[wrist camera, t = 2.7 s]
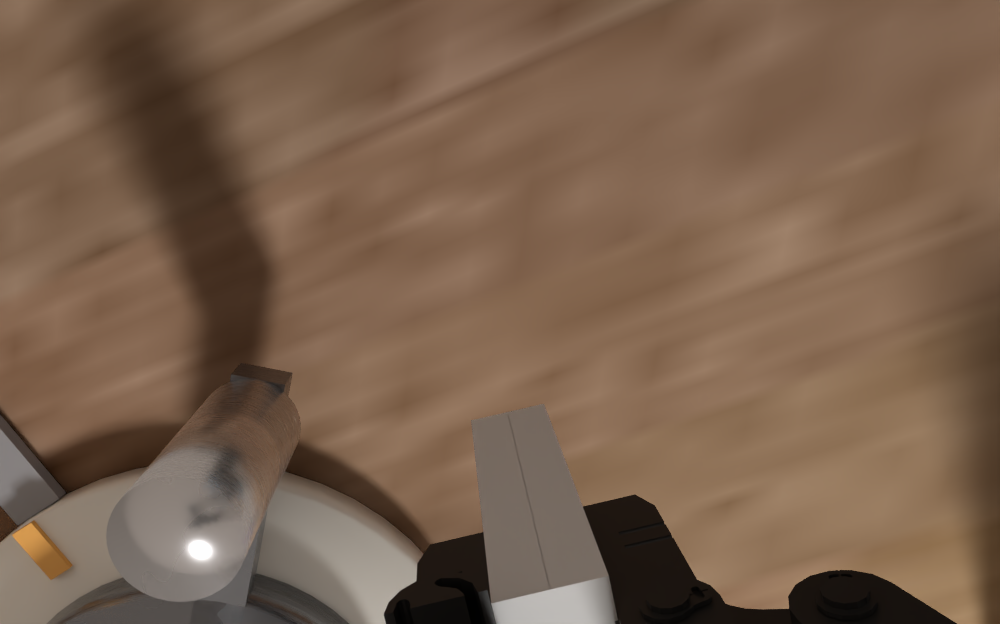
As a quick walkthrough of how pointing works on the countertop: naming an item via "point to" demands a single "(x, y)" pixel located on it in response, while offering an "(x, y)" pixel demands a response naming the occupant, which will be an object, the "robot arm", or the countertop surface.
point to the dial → (206, 519)
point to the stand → (283, 555)
